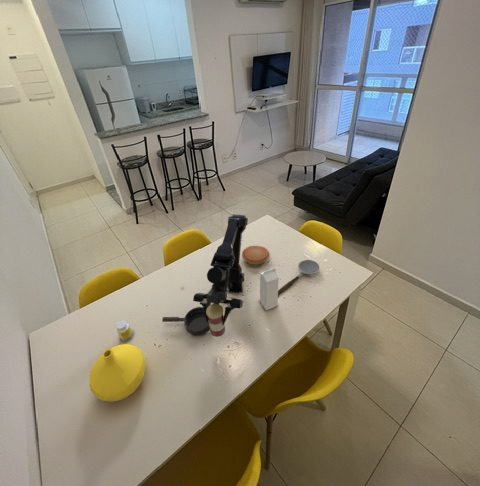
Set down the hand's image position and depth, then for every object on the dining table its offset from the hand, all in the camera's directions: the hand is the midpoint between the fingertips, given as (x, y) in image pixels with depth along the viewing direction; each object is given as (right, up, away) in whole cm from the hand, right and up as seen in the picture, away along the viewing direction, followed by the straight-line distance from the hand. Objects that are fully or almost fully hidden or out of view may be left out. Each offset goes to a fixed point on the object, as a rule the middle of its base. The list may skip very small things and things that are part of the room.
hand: (215, 323), depth 99 cm
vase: (-33, -20, -3) cm, 39 cm away
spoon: (+38, +9, +33) cm, 51 cm away
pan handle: (-19, -4, +14) cm, 24 cm away
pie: (+19, +18, +48) cm, 55 cm away
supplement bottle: (-39, -10, +12) cm, 42 cm away
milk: (+23, 0, +23) cm, 32 cm away
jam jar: (+1, -5, +5) cm, 7 cm away
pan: (-9, -6, +15) cm, 18 cm away
